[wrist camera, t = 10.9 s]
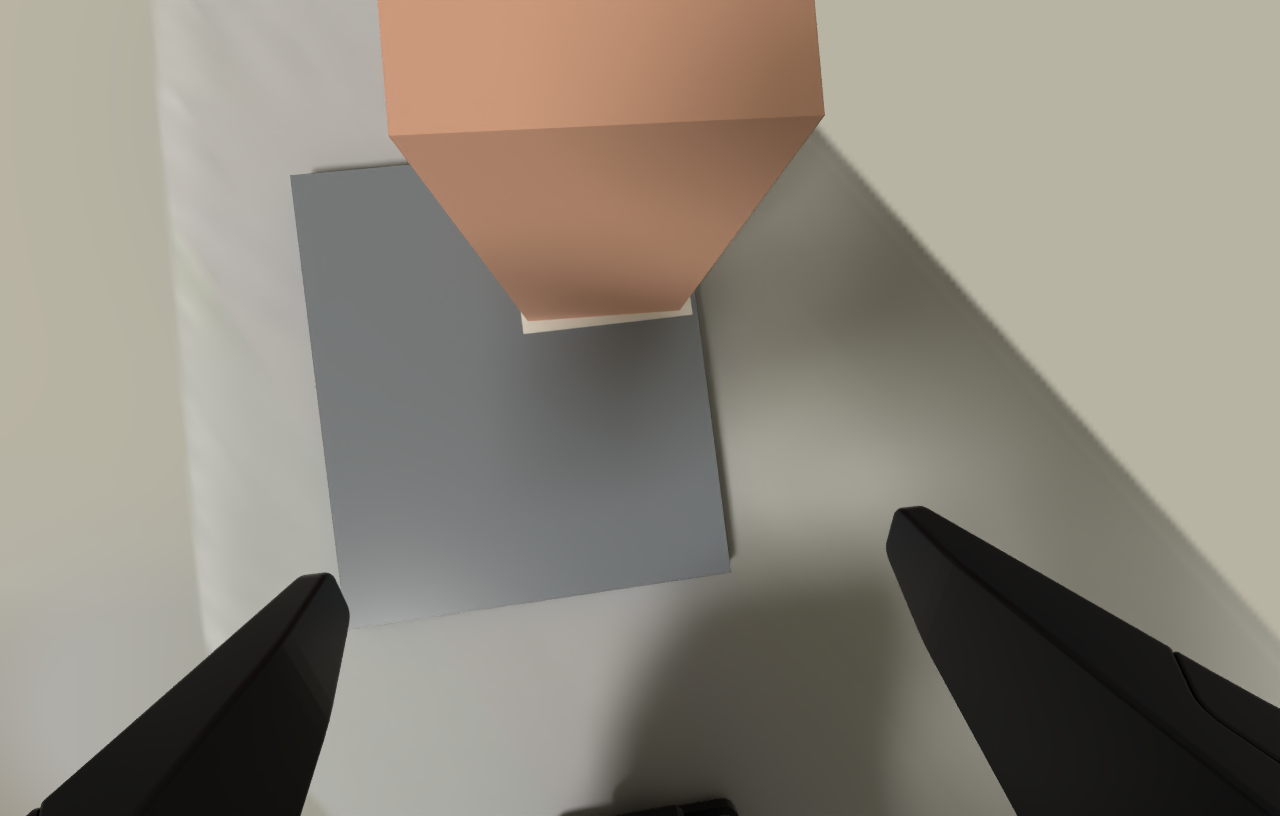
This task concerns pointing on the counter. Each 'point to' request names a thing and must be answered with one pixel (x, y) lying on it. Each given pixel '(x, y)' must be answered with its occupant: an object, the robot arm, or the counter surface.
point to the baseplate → (491, 420)
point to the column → (600, 134)
